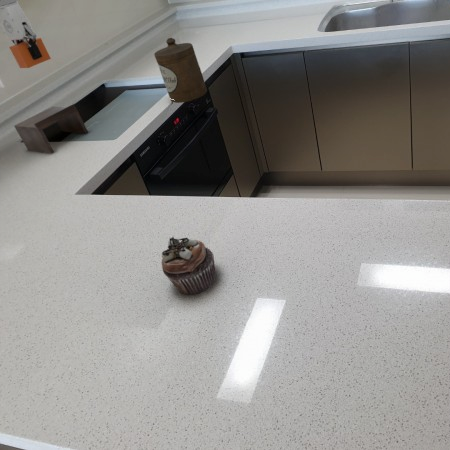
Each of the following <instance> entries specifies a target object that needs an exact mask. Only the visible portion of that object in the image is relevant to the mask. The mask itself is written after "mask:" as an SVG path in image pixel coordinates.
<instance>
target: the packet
mask: <svg viewBox="0 0 450 450" xmlns="http://www.w3.org/2000/svg"><path fill="white" fill-rule="evenodd" d="M27 40H28V41H29V39H27ZM36 43H37V46H38V48H39V50H40V52H41V54H42V57H41V58H39V59H36V60H34V59H33V58H32V56H31V54H30V52H29V50H28V48H29V47H28V46H27V44H26V43H25V41H24V42H22V43H19V44H16V45H15V44H14V45H11V46H9V50H10V52H11V53H12V56H13V57H14V59H15V61H16V63H17V65H18V67H19V68H20V69H30V68H33V67H34V66H37V65H39V64H42V63H44V62H47V61H48V60H51V59H52V58H51V56H50V53H49V52H48V50H47V48H46V45H45V44H44V42H43V39H42V38H41V37H38V38H37V37H36Z"/></svg>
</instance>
